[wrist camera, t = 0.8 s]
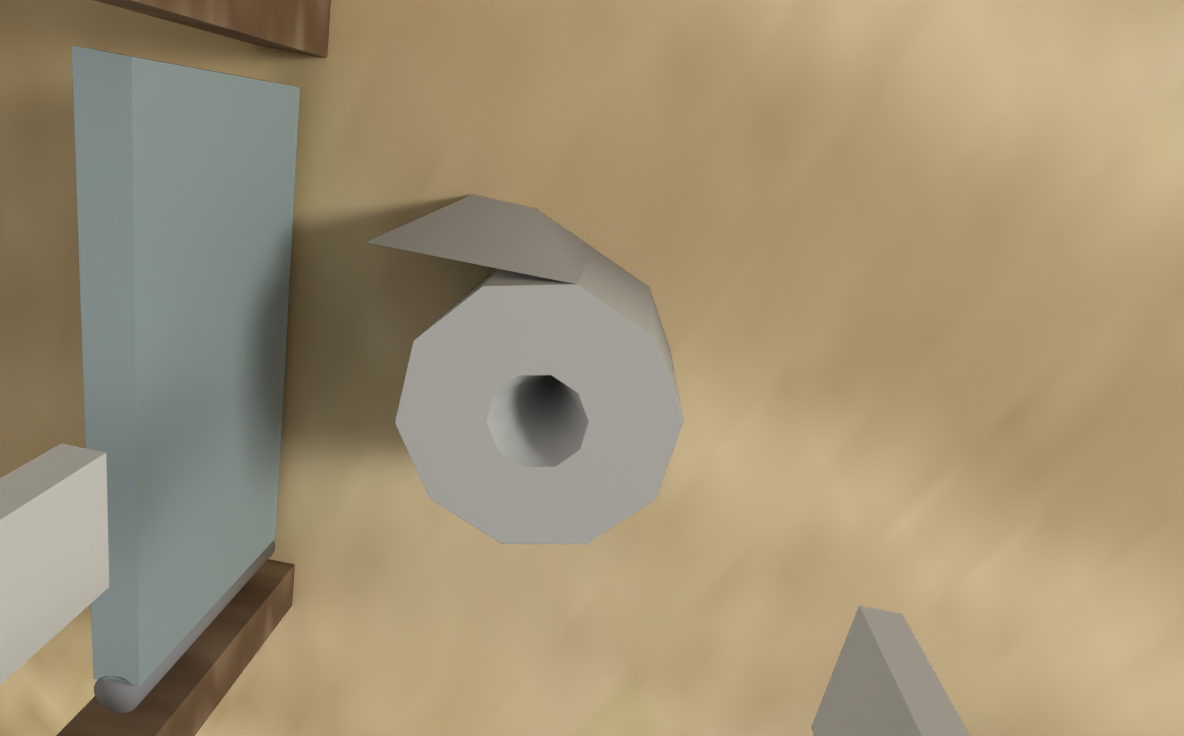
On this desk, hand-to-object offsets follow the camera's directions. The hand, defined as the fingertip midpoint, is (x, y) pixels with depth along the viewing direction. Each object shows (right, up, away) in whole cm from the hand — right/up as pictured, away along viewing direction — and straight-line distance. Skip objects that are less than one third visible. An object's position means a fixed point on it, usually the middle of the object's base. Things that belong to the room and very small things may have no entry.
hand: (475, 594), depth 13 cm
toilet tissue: (0, +6, +19) cm, 20 cm away
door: (-13, +5, +19) cm, 24 cm away
